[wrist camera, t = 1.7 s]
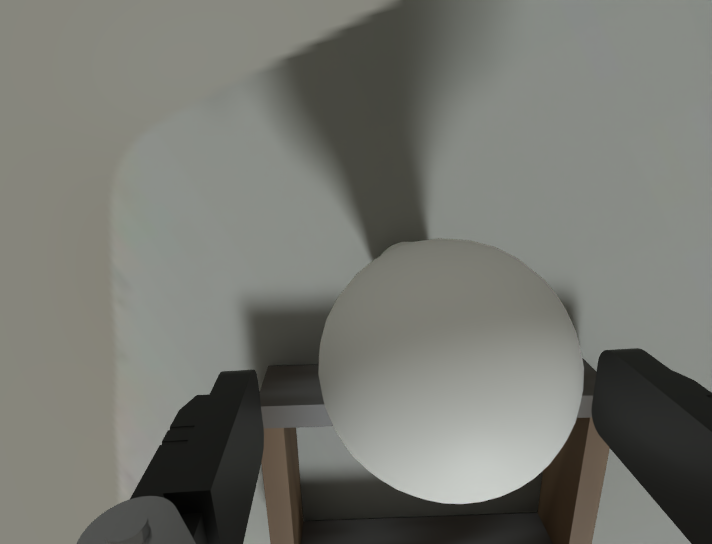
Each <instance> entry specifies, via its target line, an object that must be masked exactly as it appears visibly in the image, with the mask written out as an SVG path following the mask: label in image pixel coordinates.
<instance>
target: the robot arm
mask: <svg viewBox="0 0 712 544" xmlns="http://www.w3.org/2000/svg"><path fill="white" fill-rule="evenodd" d="M591 413H592V419H593V423H594V426H595V429H596V431H597V432H598V434H599V436H600V437H601V438H602V439H603V440H604V442H605V443H606V444H607V445H608V446H609V447H610V449H611V450H612V451H613V452H614V453H615V454H616V456H617V457H618V458H619V459H620V460H621V462H622V463H623V464H624V465H625V466H626V467H627V469H628V470H629V471H630V472H631V473H632V474H633V476H634V477H635V478H636V479H637V480H638V481H639V483H640V484H641V485H642V486H643V487H644V488H645V490H646V491H647V492H648V493H649V494H650V495H651V497H652V498H653V499H654V500H655V501H656V503H657V504H658V505H659V506H660V507H661V508H662V510H663V511H664V512H665V513H666V514H667V515H668V517H669V518H670V519H671V520H672V521H673V522H674V524H675V525H676V526H677V527H678V528H679V529H680V531H681V532H682V533H683V534H684V535H685V536H686V538H687V539H688V540H689V541H690V542H691V543H692V544H712V393H711V392H710V391H708V390H707V389H706V388H704V387H703V386H701V385H700V384H698V383H697V382H696V381H694V380H692V379H690V378H688V377H685V376H683V375H681V374H679V373H677V372H674V371H672V370H670V369H669V368H667V367H666V366H665V365H663V364H662V363H661V362H659V361H658V360H656V359H655V358H654V357H652V356H651V355H650V354H648V353H647V352H645V351H644V350H642V349H638V348H636V349H618V350H605V351H603V352H602V353H601V355H600V357H599V360H598V367H597V373H596V380H595V387H594V394H593V401H592V408H591ZM263 449H264V427H263V419H262V411H261V403H260V395H259V387H258V379H257V374H256V372H255V370H241V371H223V372H221V373H220V374H219V376H218V378H217V380H216V382H215V385H214V387H213V389H212V391H211V393H210V395H197V396H195V397H194V398H193V399H192V400H191V401H190V402H188V403H187V404H186V405H185V406H184V407H182V408H181V409H180V410H179V412H178V414H177V415H176V417H175V419H174V421H173V423H172V424H171V426H170V430H168V432H167V433H166V435H165V437H164V439H163V441H162V445H160V446H159V448H158V450H157V451H156V453H155V455H154V457H153V459H152V460H151V462H150V464H149V466H148V468H147V469H146V471H145V473H144V475H143V477H142V478H141V480H140V482H139V484H138V486H137V487H136V489H135V491H134V493H133V495H132V496H131V498H130V500H127V501H124V502H122V503H120V504H118V505H116V506H114V507H112V508H110V509H109V510H107V511H106V512H104V513H103V514H101V515H100V516H99V517H98V518H96V519H95V520H94V521H93V522H92V523H91V524H90V525H89V526H88V527H87V528H86V530H85V531H84V532H83V533H82V535H81V537H80V538H79V540H78V542H77V544H243V541H244V537H245V532H246V528H247V523H248V519H249V514H250V510H251V505H252V501H253V497H254V492H255V488H256V483H257V479H258V474H259V470H260V465H261V461H262V456H263Z"/></svg>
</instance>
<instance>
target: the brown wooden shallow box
mask: <svg viewBox="0 0 712 544" xmlns="http://www.w3.org/2000/svg"><path fill="white" fill-rule="evenodd" d="M582 360H583V365H584V383H583V393H582V398H581V403H580V407H579V411H578V415H577V419H576V422H575V425H574V427H573V429H572V431H571V433H570V435H569V437H568V439H567V441H566V442H565V444H564V445H563V447H562V448H561V450H560V451H559V453H558V454H557V455H556V456H555V458H554V459H553V460H552V462H551V463H550V464H549V465H548V466H547V467H546V468H545V469H544V470H543V476H542V483H541V491H540V498H539V505H538V513H519V514H491V515H464V516H436V517H409V518H381V519H354V520H327V521H303V510H302V498H301V485H300V473H299V460H298V448H297V435H296V427H323V426H333V424H332V422H331V420H330V417H329V415H328V413H327V410H326V408H325V404H324V400H323V396H322V391H321V386H320V380H319V375H318V371H319V365H289V366H268V369H267V372H266V375H265V378H264V381H263V384H262V388H261V391H260V394H259V395H260V403H261V411H262V419H263V427H264V449H263V456H262V461H261V462H262V471H263V480H264V489H265V498H266V507H267V516H268V524H269V533H270V542H271V544H592V539H593V534H594V528H595V523H596V518H597V512H598V507H599V502H600V496H601V491H602V486H603V481H604V475H605V470H606V465H607V459H608V454H609V449H610V447H609V446H608V445H607V444H606V443H605V442H604V440H603V439H602V438H601V437H600V436H599V434H598V432H597V431H596V429H595V426H594V423H593V419H592V413H591V408H592V401H593V394H594V387H595V380H596V373H597V372H596V371H595V370H594V369H593V368H592V367H591V366H590V365H589V364H588V363H587V362H586V361H585V360H584V359H583V358H582Z"/></svg>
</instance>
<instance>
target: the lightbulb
mask: <svg viewBox="0 0 712 544" xmlns="http://www.w3.org/2000/svg"><path fill="white" fill-rule="evenodd" d="M318 375H319V380H320V386H321V391H322V396H323V400H324V404H325V408H326V410H327V413H328V415H329V417H330V420H331V422H332V424H333V427H334V429H335V430H336V432H337V434H338V436H339V437H340V439H341V441H342V442H343V443H344V445H345V446H346V447H347V449H348V450H349V452H350V453H351V454H352V456H353V457H354V458H355V459H356V460H357V461H358V462H359V463H360V464H362V465H363V466H364V467H365V468H366V469H367V470H368V471H369V472H371V473H372V474H373V475H375V476H376V477H377V478H379V479H380V480H382V481H383V482H385V483H387V484H388V485H390V486H392V487H393V488H395V489H397V490H399V491H402V492H404V493H407V494H410V495H412V496H415V497H418V498H421V499H425V500H429V501H434V502H439V503H447V504H467V503H476V502H483V501H487V500H490V499H494V498H497V497H501V496H503V495H505V494H508V493H510V492H512V491H514V490H517V489H519V488H520V487H522V486H523V485H525V484H526V483H528V482H530V481H531V480H533V479H534V478H535V477H537V476H538V475H539V474H540V473H541V472H542V471H543V470H544V469H545V468H546V467H547V466H548V465H549V464H550V463H551V462H552V460H553V459H554V458H555V456H556V455H557V454H558V453H559V451H560V450H561V448H562V447H563V445H564V444H565V442H566V441H567V439H568V437H569V435H570V433H571V431H572V429H573V427H574V425H575V422H576V419H577V415H578V411H579V407H580V403H581V398H582V393H583V383H584V365H583V360H582V355H581V350H580V345H579V341H578V337H577V333H576V330H575V328H574V326H573V324H572V321H571V319H570V317H569V315H568V313H567V311H566V309H565V307H564V306H563V304H562V302H561V301H560V299H559V298H558V296H557V295H556V294H555V292H554V291H553V290H552V289H551V287H550V286H549V285H548V284H547V282H546V281H545V280H544V279H543V278H542V277H540V276H539V275H538V274H537V273H535V272H534V271H533V270H532V269H530V268H529V267H528V266H527V265H525V264H524V263H523V262H521V261H520V260H519V259H518V258H516V257H514V256H512V255H510V254H508V253H506V252H504V251H502V250H500V249H498V248H496V247H493V246H489V245H485V244H481V243H478V242H474V241H469V240H458V239H441V238H438V239H431V240H423V241H416V242H400V243H397V244H394V245H392V246H390V247H389V248H387V249H386V250H385V251H384V252H383V253H382V254H381V256H380V257H378V258H376V259H374V260H373V261H372V262H371V263H369V264H368V265H367V266H366V267H365V268H363V269H362V270H361V271H360V272H359V273H357V274H356V275H355V277H354V278H353V279H352V280H351V282H350V283H349V284H348V285H347V287H346V288H345V289H344V290H343V292H342V293H341V294H340V295H339V297H338V298H337V300H336V302H335V304H334V306H333V307H332V309H331V311H330V313H329V315H328V317H327V319H326V323H325V327H324V330H323V334H322V338H321V342H320V350H319V371H318Z"/></svg>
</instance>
